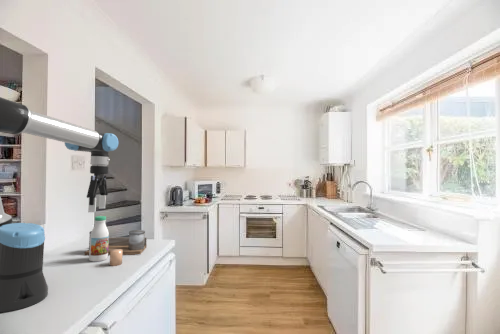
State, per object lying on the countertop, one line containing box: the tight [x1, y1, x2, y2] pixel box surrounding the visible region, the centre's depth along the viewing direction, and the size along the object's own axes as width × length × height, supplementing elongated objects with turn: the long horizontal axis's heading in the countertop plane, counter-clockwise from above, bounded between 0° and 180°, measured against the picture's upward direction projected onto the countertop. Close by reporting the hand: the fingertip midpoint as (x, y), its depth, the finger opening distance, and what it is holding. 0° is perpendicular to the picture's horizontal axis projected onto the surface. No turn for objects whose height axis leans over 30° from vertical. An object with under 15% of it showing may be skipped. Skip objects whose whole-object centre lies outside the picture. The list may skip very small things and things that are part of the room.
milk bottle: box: [88, 215, 110, 263], centre depth 124 cm, size 8×8×20 cm
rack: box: [84, 229, 148, 256], centre depth 137 cm, size 13×27×10 cm, turn 98°
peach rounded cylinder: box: [109, 249, 123, 267], centre depth 118 cm, size 5×5×6 cm
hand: (97, 210), depth 124 cm, fingers open, 13 cm apart
